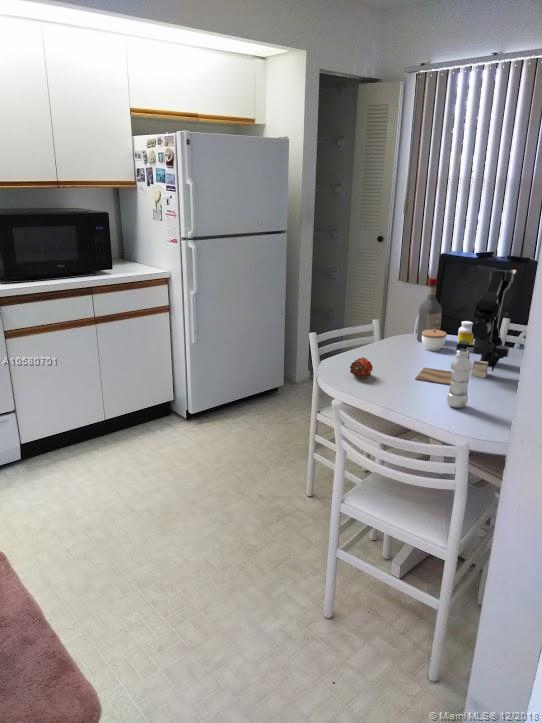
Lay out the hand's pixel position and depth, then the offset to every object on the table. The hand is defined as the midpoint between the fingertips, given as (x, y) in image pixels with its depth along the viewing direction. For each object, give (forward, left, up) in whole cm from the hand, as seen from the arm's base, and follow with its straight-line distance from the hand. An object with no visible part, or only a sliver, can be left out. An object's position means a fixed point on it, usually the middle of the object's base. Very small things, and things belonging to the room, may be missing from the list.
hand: (479, 369), depth 209 cm
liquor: (-38, -29, -2) cm, 48 cm away
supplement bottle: (-31, -11, -2) cm, 33 cm away
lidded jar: (-26, -24, -2) cm, 35 cm away
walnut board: (+10, -14, -2) cm, 17 cm away
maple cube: (0, 0, -2) cm, 2 cm away
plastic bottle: (+36, -2, -2) cm, 36 cm away
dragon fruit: (+23, -41, -2) cm, 47 cm away
